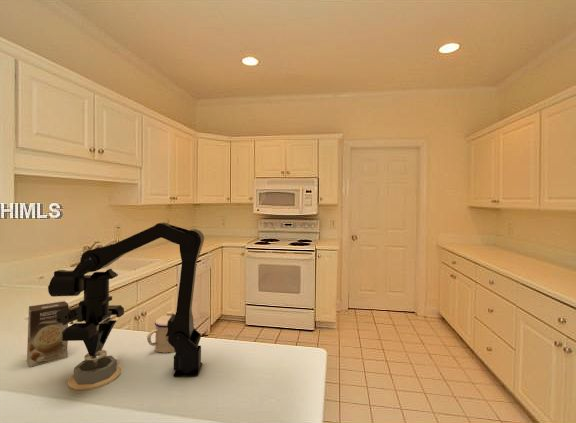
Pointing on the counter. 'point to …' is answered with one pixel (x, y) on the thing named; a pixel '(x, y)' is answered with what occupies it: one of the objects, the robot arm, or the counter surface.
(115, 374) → the grey bowl
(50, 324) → the coffee box
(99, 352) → the plunger
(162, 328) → the teacup with lid
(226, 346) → the counter surface
